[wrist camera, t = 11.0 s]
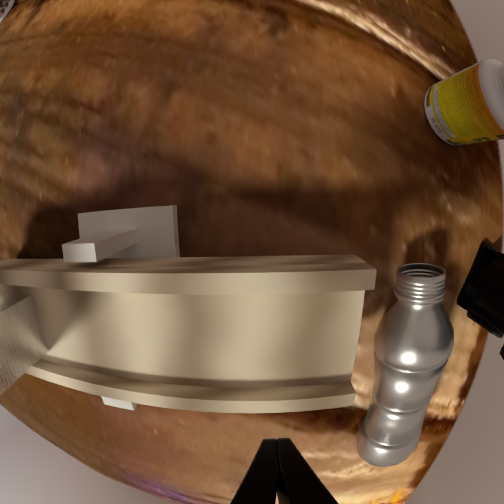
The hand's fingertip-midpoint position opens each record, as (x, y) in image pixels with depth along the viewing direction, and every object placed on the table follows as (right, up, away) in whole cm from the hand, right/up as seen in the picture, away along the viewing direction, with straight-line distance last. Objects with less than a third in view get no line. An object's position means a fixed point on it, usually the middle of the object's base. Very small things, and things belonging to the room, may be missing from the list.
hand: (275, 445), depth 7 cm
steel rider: (-18, +1, +7) cm, 20 cm away
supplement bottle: (+16, +18, +10) cm, 25 cm away
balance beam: (-10, +2, +12) cm, 16 cm away
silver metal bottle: (+13, -15, +13) cm, 24 cm away
